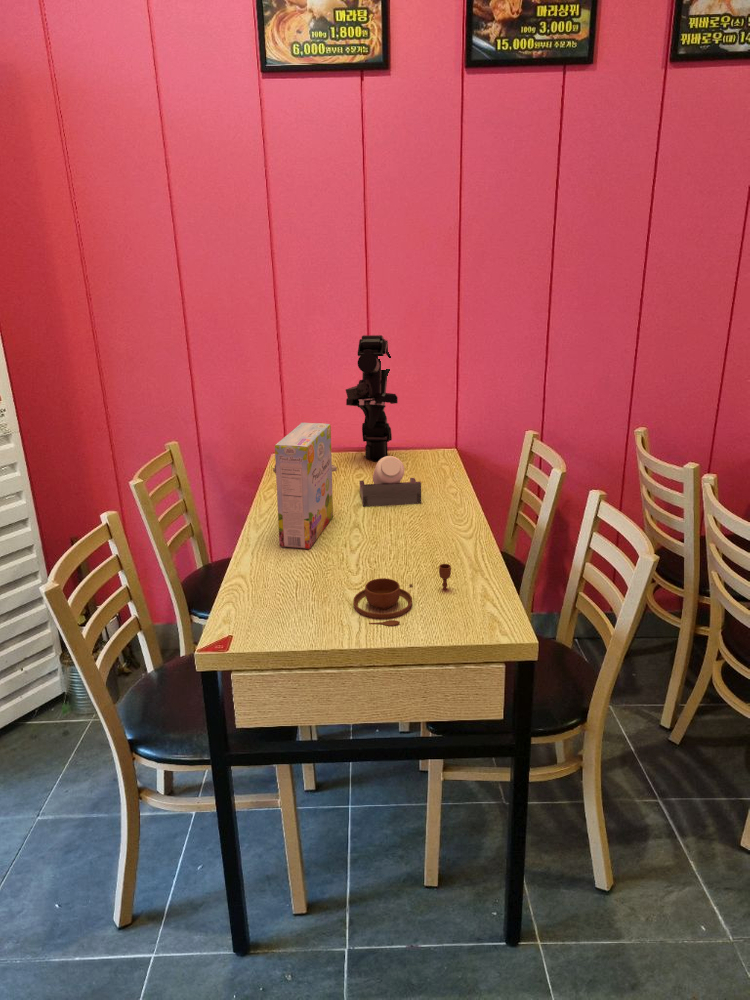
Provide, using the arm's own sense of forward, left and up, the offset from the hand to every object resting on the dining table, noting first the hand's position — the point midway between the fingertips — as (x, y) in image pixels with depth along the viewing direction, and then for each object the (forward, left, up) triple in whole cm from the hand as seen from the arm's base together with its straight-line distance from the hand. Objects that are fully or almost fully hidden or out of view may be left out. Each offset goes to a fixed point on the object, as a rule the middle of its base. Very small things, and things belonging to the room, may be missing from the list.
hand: (370, 428), depth 227 cm
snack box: (+40, +30, -14) cm, 52 cm away
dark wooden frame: (+10, +22, -14) cm, 28 cm away
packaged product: (+16, -13, -14) cm, 25 cm away
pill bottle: (+7, +17, -10) cm, 21 cm away
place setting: (+45, +74, -14) cm, 88 cm away
